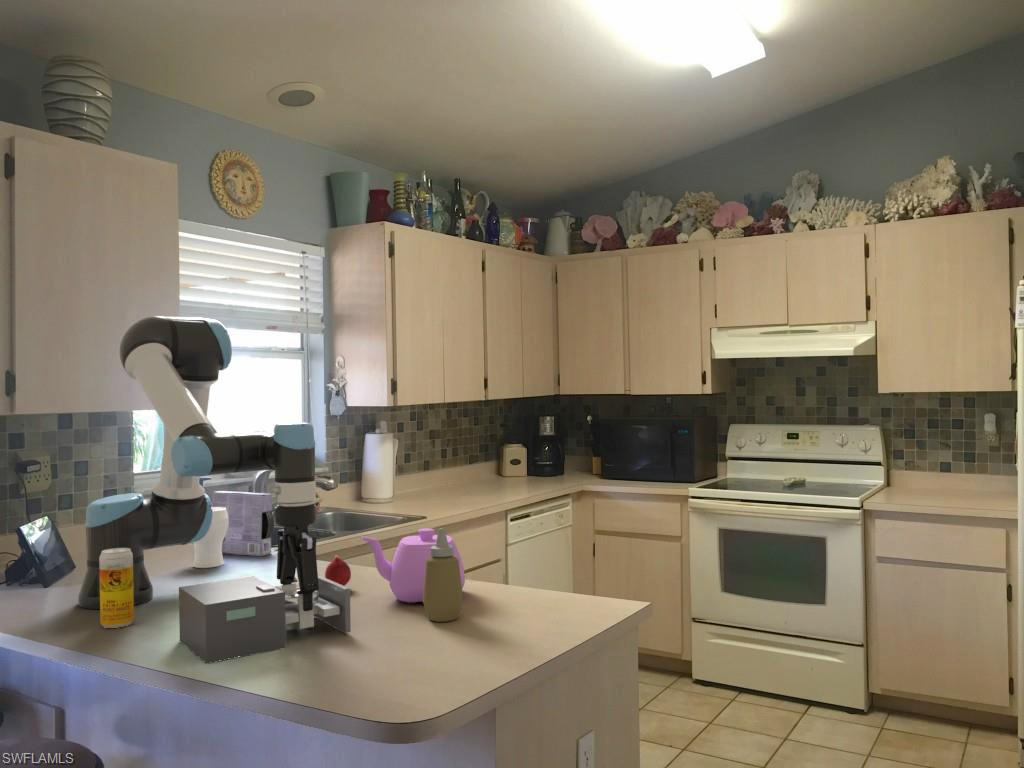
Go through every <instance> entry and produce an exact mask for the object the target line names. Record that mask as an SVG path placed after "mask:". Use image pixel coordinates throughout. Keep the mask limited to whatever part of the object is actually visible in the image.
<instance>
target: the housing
mask: <svg viewBox="0 0 1024 768" xmlns="http://www.w3.org/2000/svg"><path fill="white" fill-rule="evenodd" d="M178 609H179V611H178V614H179V616H178V619H179V621H178V623H179V642H180V641H181V642H180V643H181V644H183V645H184V646H185V645H186V646H187V647H188V650H190V651H191V652H192V651H193V652H194V653H195V654H194V653H193V652H192V653H193V654H194V655H196V656H197V657H198V656H199V657H200V658H201V659H202V660H201V659H200V658H199V657H198V658H199V659H200V660H201V661H202V662H204V663H205V664H206V663H208V664H211V663H210V662H213V663H216V662H215V661H218V662H220V661H219V660H223V661H225V660H224V659H228V658H233V659H235V658H234V657H238V656H243V657H245V656H244V655H248V656H251V654H253V655H256V654H257V653H258V654H262V653H263V654H264V653H267V651H268V652H271V651H272V652H273V651H276V650H277V649H278V650H281V649H282V648H283V649H286V648H287V635H286V633H287V631H286V628H287V627H286V626H287V624H286V620H285V592H284V591H282V590H280V589H278V588H276V587H275V586H274V585H271V584H270V583H267V582H265V581H264V580H261V579H260V578H257V576H256V577H255V576H245V577H238V578H233V579H226V580H218V581H212V582H205V583H199V584H198V583H197V584H192V585H191V584H190V585H185V586H184V585H183V586H179V587H178ZM186 646H185V647H186ZM187 647H186V648H187ZM278 650H277V651H278ZM238 658H239V657H238ZM228 660H229V659H228Z"/></svg>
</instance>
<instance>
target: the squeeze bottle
mask: <svg viewBox="0 0 1024 768" xmlns="http://www.w3.org/2000/svg"><path fill="white" fill-rule="evenodd" d="M436 535H437V541H436V546H432V547H431V548H430V553H431V556H432V557H430V558H428V559H427V560H426V568H425V580H424V592H423V602H422V603H423V605H424V609H425V612H426V614H427V617H428V620H429V621H432V622H437V623H438V622H439V623H441V622H442V623H444V622H445V623H446V622H451V621H452V622H453V621H455V620H457V619H458V618H459V615H460V614H461V609H462V606H463V602H464V594H463V588H462V585H461V576H460V568H459V560H458V559H457V558H456V557H455V556H452V555H454V547H453V546H451V545H448V541H447V537H446V535H447V533H446V529H445V528H444V527H443V528H438V530H437V534H436Z"/></svg>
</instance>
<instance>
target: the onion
mask: <svg viewBox="0 0 1024 768" xmlns="http://www.w3.org/2000/svg"><path fill="white" fill-rule="evenodd" d="M351 570H352V569H351V568H350V566H349V564H348V563H347V562H346V561H345V560H343V559H342V558H341V557H339V556H338V555H335V556H334V559H333V560H332V561H331V562H330V563H329V564H328V565H327V567H326V569H325V573H324V575H325V577H324V578H326V579H329V580H331V581H333V582H336V583H338V584H341V585H343V586H345V587H346V585H348V583H349V582H350V580H351V578H352V577H351V576H352V572H351Z"/></svg>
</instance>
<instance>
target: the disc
mask: <svg viewBox="0 0 1024 768" xmlns="http://www.w3.org/2000/svg"><path fill="white" fill-rule="evenodd" d="M298 591H300V590H292V591H286V592H285V608H298V595H297V593H296V592H298ZM318 602H319V592H317V591H315V592H313V604H314V605H315V604H317V603H318Z"/></svg>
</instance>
